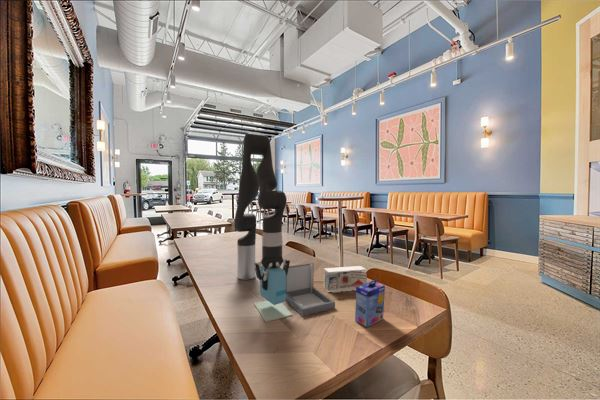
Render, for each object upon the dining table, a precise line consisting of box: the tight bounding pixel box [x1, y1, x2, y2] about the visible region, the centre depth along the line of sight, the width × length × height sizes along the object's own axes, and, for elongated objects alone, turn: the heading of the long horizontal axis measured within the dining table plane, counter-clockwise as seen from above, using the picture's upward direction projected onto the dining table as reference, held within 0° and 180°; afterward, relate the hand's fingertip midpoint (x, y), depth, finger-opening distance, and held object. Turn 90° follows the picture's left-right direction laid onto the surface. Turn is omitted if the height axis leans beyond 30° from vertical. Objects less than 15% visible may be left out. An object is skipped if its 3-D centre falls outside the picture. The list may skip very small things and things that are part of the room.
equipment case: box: [285, 262, 336, 317], centre depth 98 cm, size 18×14×13 cm
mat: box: [253, 300, 293, 323], centre depth 92 cm, size 15×10×1 cm, turn 26°
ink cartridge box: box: [354, 278, 386, 328], centre depth 85 cm, size 10×6×14 cm, turn 128°
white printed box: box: [323, 265, 368, 293], centre depth 113 cm, size 20×6×9 cm, turn 104°
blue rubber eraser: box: [259, 265, 287, 305], centre depth 92 cm, size 12×4×12 cm, turn 36°
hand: (272, 288), depth 92 cm, fingers closed on blue rubber eraser, 5 cm apart
